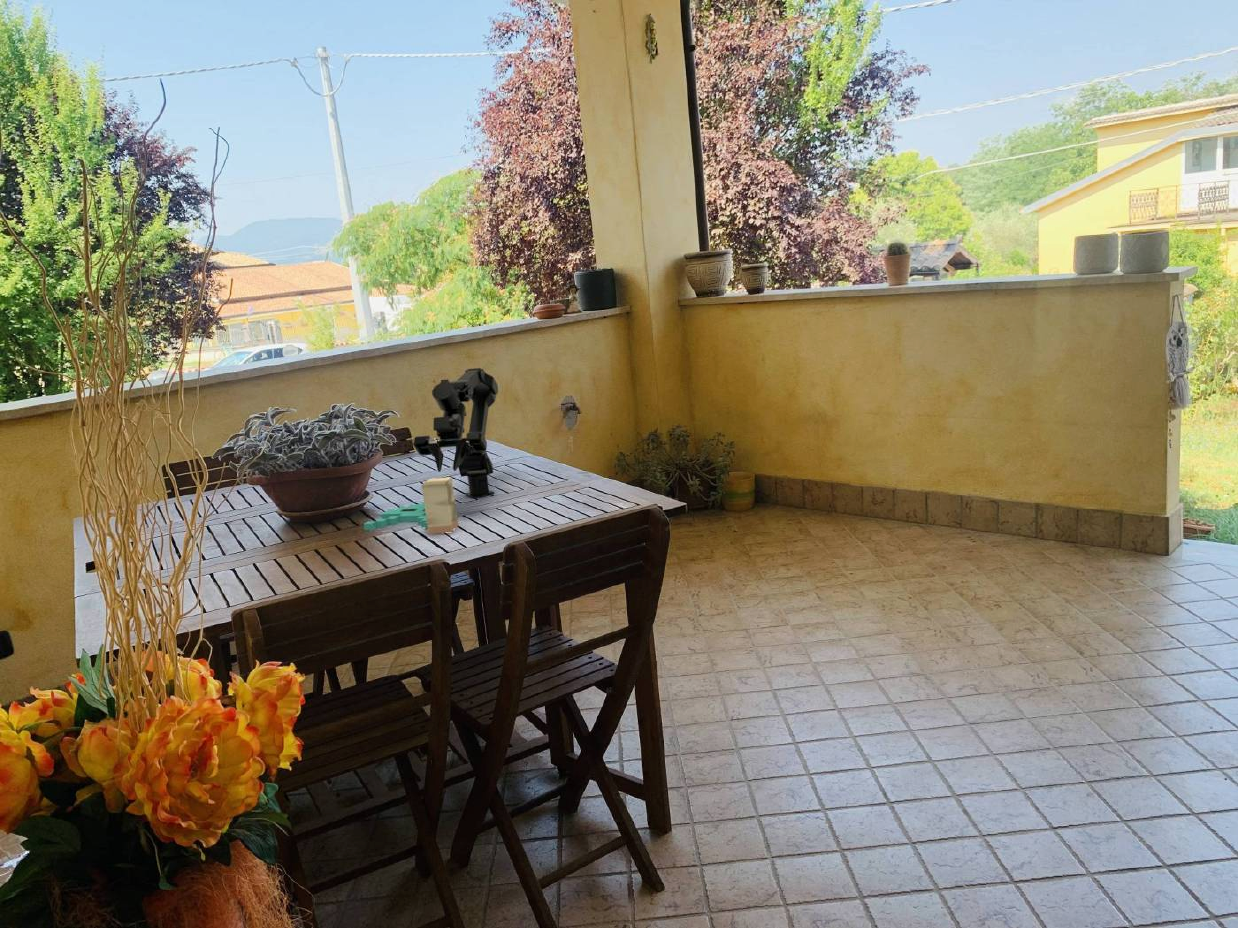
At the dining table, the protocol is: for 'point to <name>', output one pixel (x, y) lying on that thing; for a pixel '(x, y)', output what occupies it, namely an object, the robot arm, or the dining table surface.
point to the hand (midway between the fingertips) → (446, 470)
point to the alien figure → (400, 517)
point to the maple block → (439, 505)
